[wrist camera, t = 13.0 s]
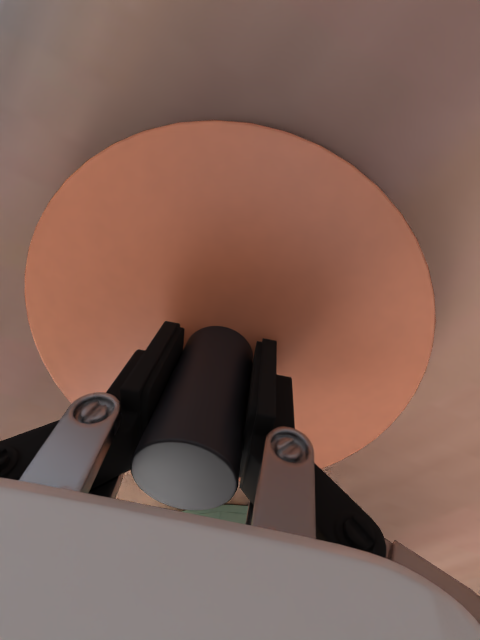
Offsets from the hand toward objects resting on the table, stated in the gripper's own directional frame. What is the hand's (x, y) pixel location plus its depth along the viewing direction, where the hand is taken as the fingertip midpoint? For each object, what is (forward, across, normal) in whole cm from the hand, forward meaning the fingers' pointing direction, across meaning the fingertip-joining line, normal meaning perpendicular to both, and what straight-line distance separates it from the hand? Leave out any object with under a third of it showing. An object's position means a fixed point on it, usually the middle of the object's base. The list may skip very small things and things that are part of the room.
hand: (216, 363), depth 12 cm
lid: (+1, 0, 0) cm, 1 cm away
